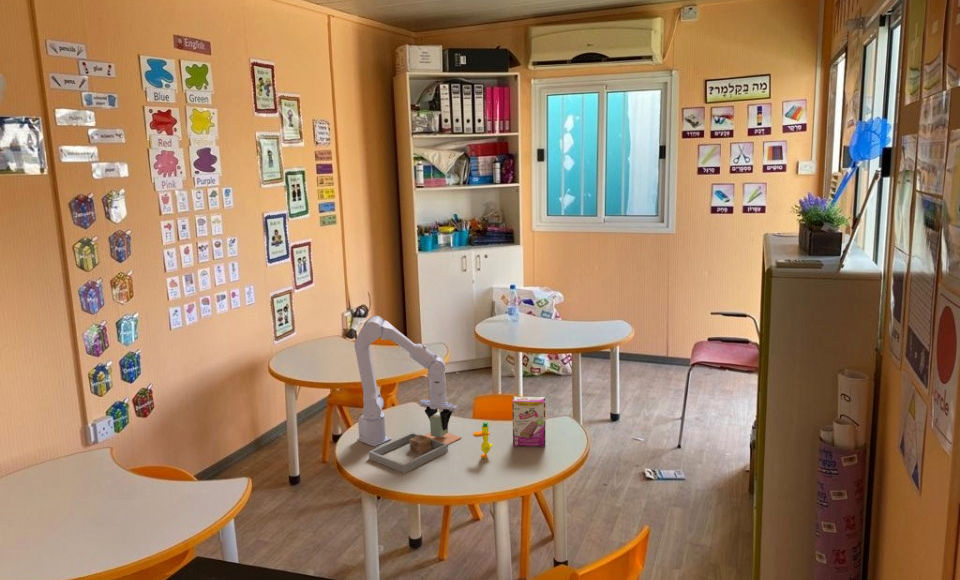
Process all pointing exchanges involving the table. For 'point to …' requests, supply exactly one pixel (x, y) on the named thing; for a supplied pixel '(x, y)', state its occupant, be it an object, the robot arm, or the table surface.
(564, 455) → the table surface
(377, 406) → the robot arm
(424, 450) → the walnut block
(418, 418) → the table surface
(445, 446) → the parts bin
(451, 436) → the mat
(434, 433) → the labelled box
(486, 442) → the toy figure
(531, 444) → the candy bar box
